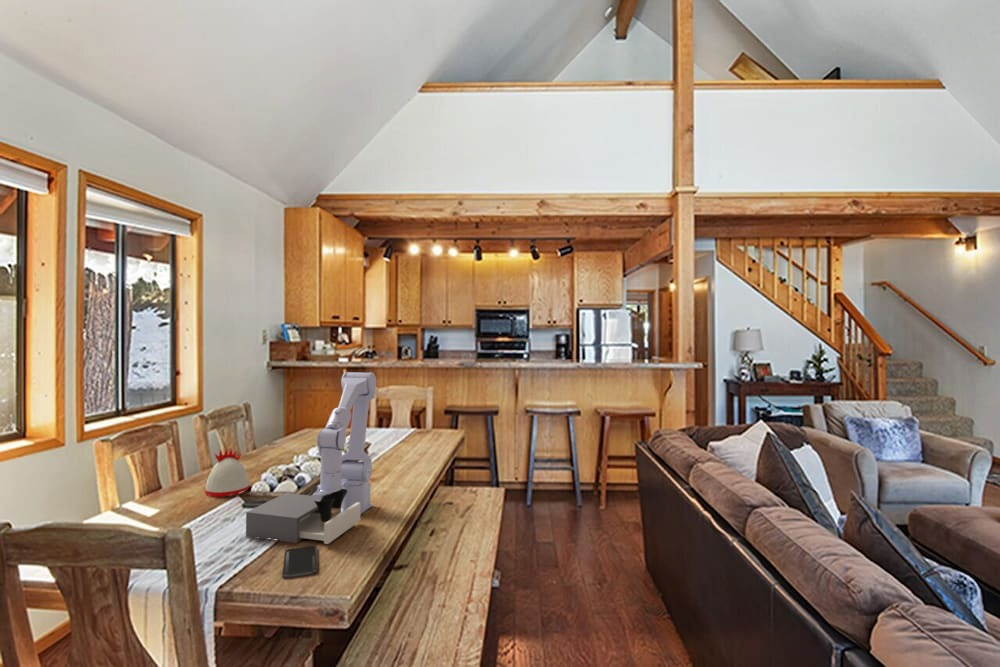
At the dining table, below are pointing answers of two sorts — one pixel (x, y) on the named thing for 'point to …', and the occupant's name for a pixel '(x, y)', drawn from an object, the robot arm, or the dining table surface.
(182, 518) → the dining table surface
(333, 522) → the tray
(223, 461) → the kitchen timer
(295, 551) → the phone
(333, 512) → the walnut block
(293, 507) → the box housing
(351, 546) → the dining table surface
